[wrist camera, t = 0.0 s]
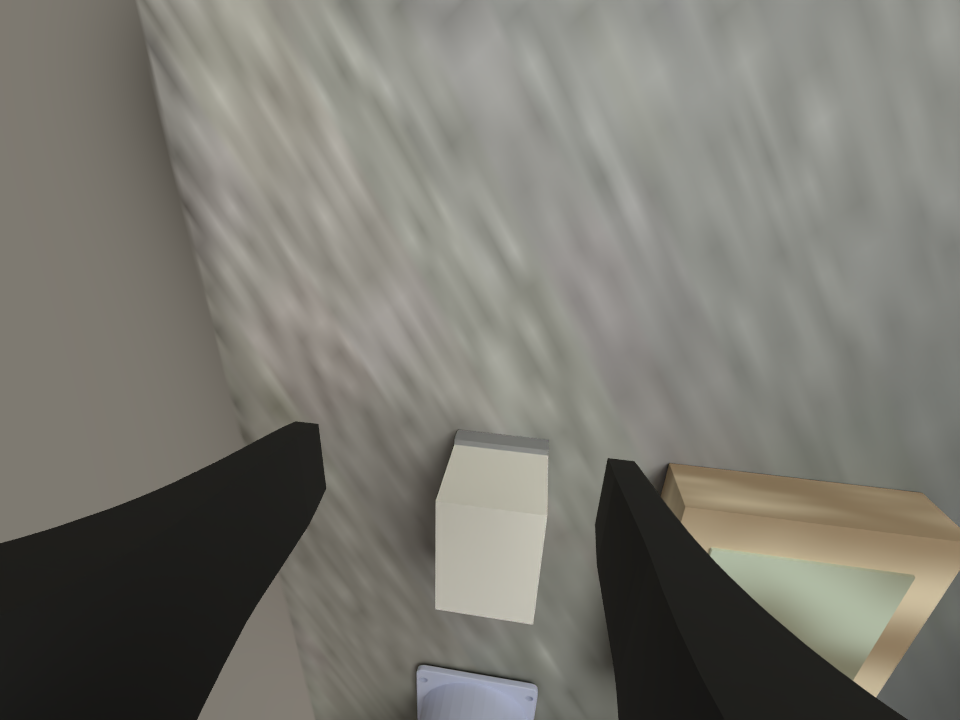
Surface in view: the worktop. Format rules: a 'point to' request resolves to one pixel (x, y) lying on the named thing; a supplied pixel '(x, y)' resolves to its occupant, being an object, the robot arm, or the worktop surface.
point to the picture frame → (825, 558)
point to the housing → (491, 526)
